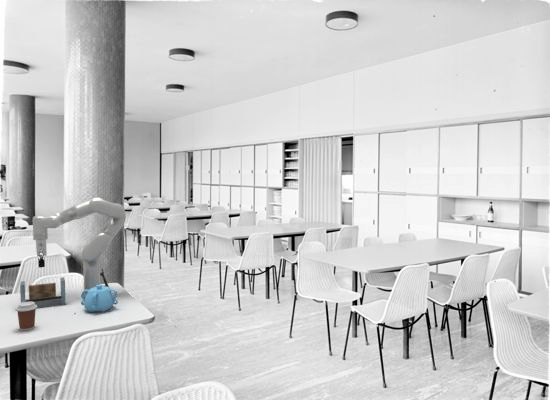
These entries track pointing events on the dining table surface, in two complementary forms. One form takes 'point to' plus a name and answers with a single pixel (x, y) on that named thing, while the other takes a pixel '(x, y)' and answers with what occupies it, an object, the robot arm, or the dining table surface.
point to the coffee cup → (26, 315)
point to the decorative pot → (99, 299)
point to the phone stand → (104, 279)
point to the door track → (47, 300)
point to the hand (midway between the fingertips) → (41, 265)
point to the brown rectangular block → (42, 290)
